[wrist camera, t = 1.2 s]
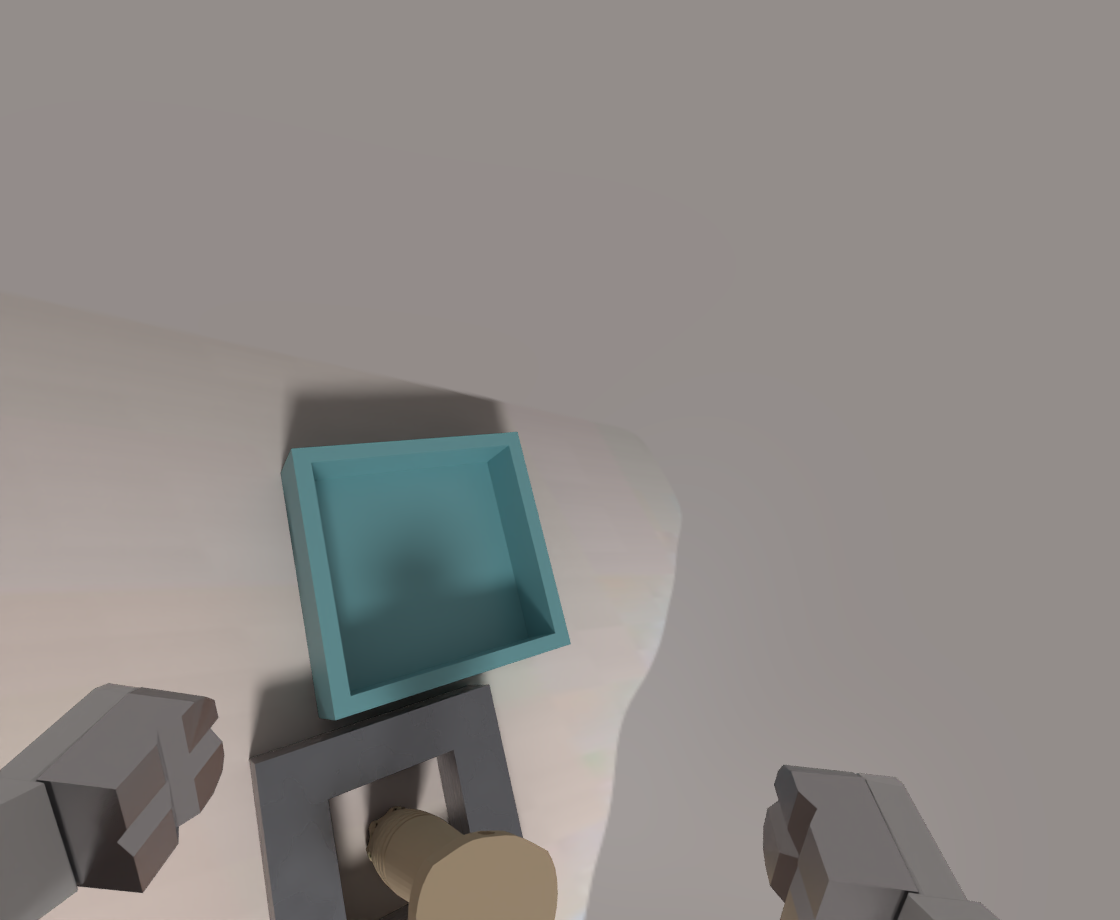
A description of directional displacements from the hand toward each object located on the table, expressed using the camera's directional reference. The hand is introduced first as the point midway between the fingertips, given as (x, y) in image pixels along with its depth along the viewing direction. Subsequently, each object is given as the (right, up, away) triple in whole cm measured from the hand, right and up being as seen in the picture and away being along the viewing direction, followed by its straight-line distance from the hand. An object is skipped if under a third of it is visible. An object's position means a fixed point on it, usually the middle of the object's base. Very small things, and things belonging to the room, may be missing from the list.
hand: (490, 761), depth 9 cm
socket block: (-9, -19, +28) cm, 35 cm away
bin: (-9, -3, +34) cm, 36 cm away
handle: (-10, -19, +28) cm, 35 cm away
